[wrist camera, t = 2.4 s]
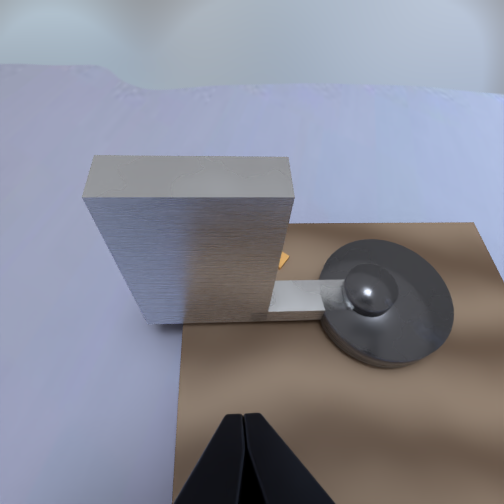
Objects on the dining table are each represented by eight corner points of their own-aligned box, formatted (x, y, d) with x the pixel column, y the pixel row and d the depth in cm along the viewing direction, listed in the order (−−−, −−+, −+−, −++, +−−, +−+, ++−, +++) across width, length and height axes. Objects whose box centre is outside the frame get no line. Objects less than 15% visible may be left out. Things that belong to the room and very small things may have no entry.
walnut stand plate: (591, 505, 19) (617, 507, 17) (174, 535, 17) (169, 539, 16) (462, 233, 28) (473, 222, 27) (191, 236, 27) (189, 224, 26)
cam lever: (417, 251, 25) (531, 112, 15) (459, 365, 20) (655, 268, 11) (156, 254, 23) (108, 104, 14) (142, 377, 19) (58, 278, 10)
